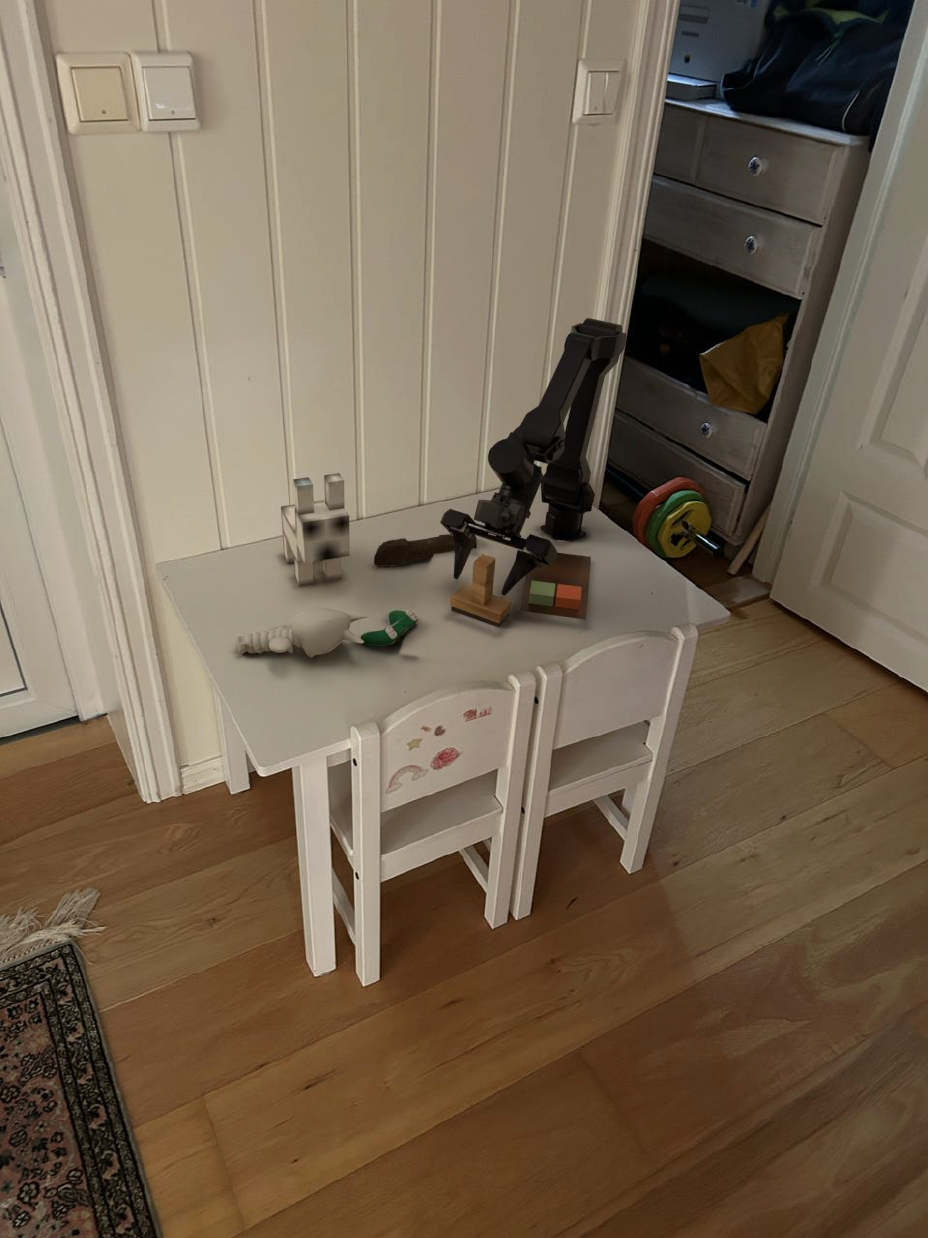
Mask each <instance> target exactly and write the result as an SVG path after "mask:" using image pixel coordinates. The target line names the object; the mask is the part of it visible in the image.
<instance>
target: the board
mask: <svg viewBox="0 0 928 1238" xmlns="http://www.w3.org/2000/svg"><path fill="white" fill-rule="evenodd" d="M591 561H592V556H588V555H579V554H574V553H573V554H572V553H564V552H557V558H556V561H555V563H554V566H548V565H545V564H542V563H541V564H542V568H538V567H536V568H535V569H533V570H532V571H531V572H529V573H528V574H527V575H526V576H524V583H523V587H522V591H521V592H522V594H521V599H520V603H519V610H518V611H519V612H523V613H532V614H540V615H548V616H553V617H561V618H570V619H577V620H583V621H584V620H585V621H586V620H587V618H588V617H587V614H588V603H589V590H590V589H589V588H590V576H591V574H590V573H591ZM532 581H539V582H547V583H555V592H554V599H553V606H546V605H538V604H531V603H529V594H530V588H531V582H532ZM558 584H562V585H570V586H578V587H582V590H581V601H580V608H579V610H577V609H569V608H561V607H555V602H556V594H557V587H558Z"/></svg>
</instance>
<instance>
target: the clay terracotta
mask: <svg viewBox="0 0 928 1238" xmlns="http://www.w3.org/2000/svg"><path fill="white" fill-rule="evenodd" d="M581 590H582V587H578V586H570V585H562V584H558V587H557V594H556V602H555V607H561V608H569V609H577V610H579V608H580V601H581Z"/></svg>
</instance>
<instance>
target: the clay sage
mask: <svg viewBox="0 0 928 1238" xmlns="http://www.w3.org/2000/svg"><path fill="white" fill-rule="evenodd" d="M554 592H555V583H547V582H539V581H532V582H531V588H530V594H529V603H531V604H538V605H546V606H553V599H554Z"/></svg>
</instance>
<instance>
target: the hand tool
mask: <svg viewBox="0 0 928 1238" xmlns="http://www.w3.org/2000/svg"><path fill="white" fill-rule="evenodd" d="M470 540H471V541H472V542H473V543H474V545H473V548H472V549H475V550H476V549H477V546H478V541H477V540H478V539H477V536H476V535H474V536H473V537H471V538H470ZM450 552H455V543H454V538H453V536H452V535H451V534H450V533H447V534H439V535H437V536H434V537H428V538H422V539H421V538H420V539H415V540H414V539H413V540H408V539H406V537H403V538H397V539H391V540H390V539H389V540H386V541H383V542H382V543H381V544H380V545H379V546H378V547H377V550H376V552H375V554H374V556H373V563H374V564H373V565H374V566H377V567H394V566H407V564H408V563H410V562H411V561H416V560H421V559H430V558H432V557H434V555H438V554H443V553H450Z"/></svg>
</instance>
